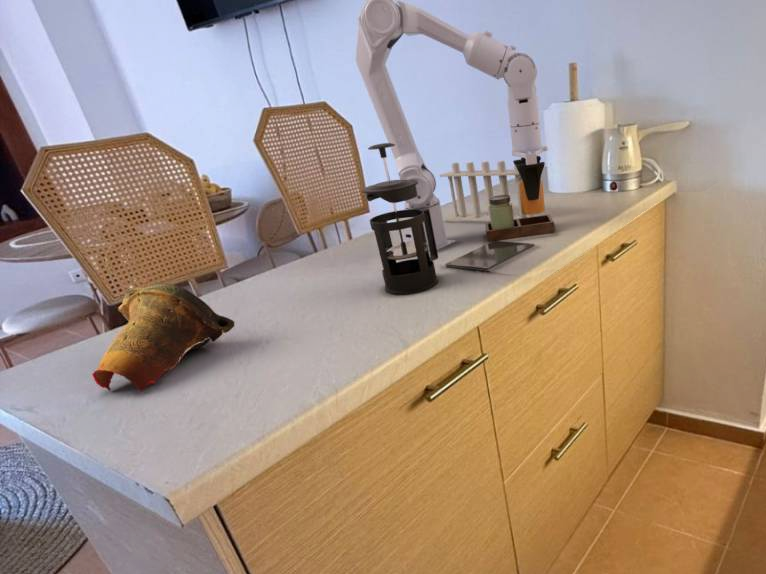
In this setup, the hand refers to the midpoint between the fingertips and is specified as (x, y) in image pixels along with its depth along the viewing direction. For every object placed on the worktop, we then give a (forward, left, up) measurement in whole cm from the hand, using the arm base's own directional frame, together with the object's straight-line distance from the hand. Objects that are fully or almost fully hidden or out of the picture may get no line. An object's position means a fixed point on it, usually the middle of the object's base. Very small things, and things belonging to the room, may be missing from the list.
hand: (531, 197), depth 114 cm
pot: (-69, +17, -8) cm, 72 cm away
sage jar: (-4, +5, -7) cm, 10 cm away
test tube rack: (+8, +17, -8) cm, 21 cm away
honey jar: (0, 0, -3) cm, 3 cm away
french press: (-33, +3, -8) cm, 34 cm away
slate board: (-17, -1, -7) cm, 18 cm away
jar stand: (-2, +2, -7) cm, 8 cm away
